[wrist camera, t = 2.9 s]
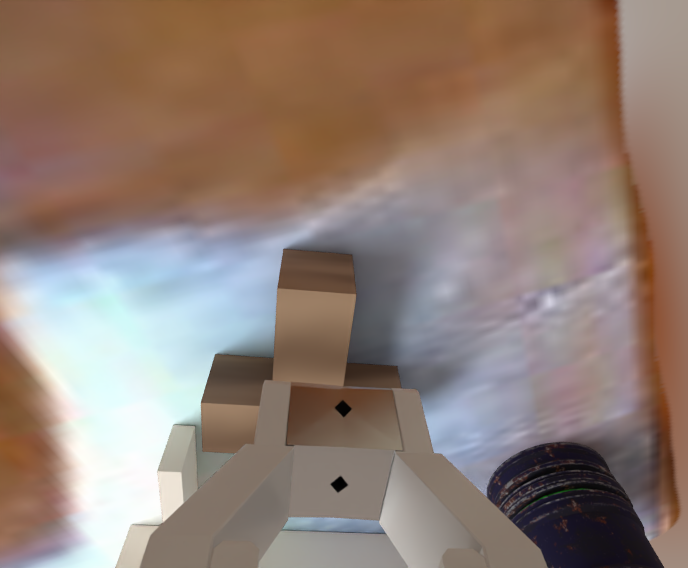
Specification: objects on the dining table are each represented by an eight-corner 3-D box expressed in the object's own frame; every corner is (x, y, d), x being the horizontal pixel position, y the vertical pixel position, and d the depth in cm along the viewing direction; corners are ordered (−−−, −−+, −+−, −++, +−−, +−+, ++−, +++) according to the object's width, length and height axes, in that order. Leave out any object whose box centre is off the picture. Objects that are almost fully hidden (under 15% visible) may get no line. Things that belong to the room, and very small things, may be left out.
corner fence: (114, 421, 35) (92, 468, 32) (475, 440, 38) (490, 486, 34) (132, 536, 42) (115, 585, 38) (439, 546, 44) (449, 594, 41)
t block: (213, 242, 29) (196, 281, 25) (419, 260, 30) (433, 300, 26) (216, 400, 35) (202, 451, 31) (387, 410, 36) (395, 461, 32)
